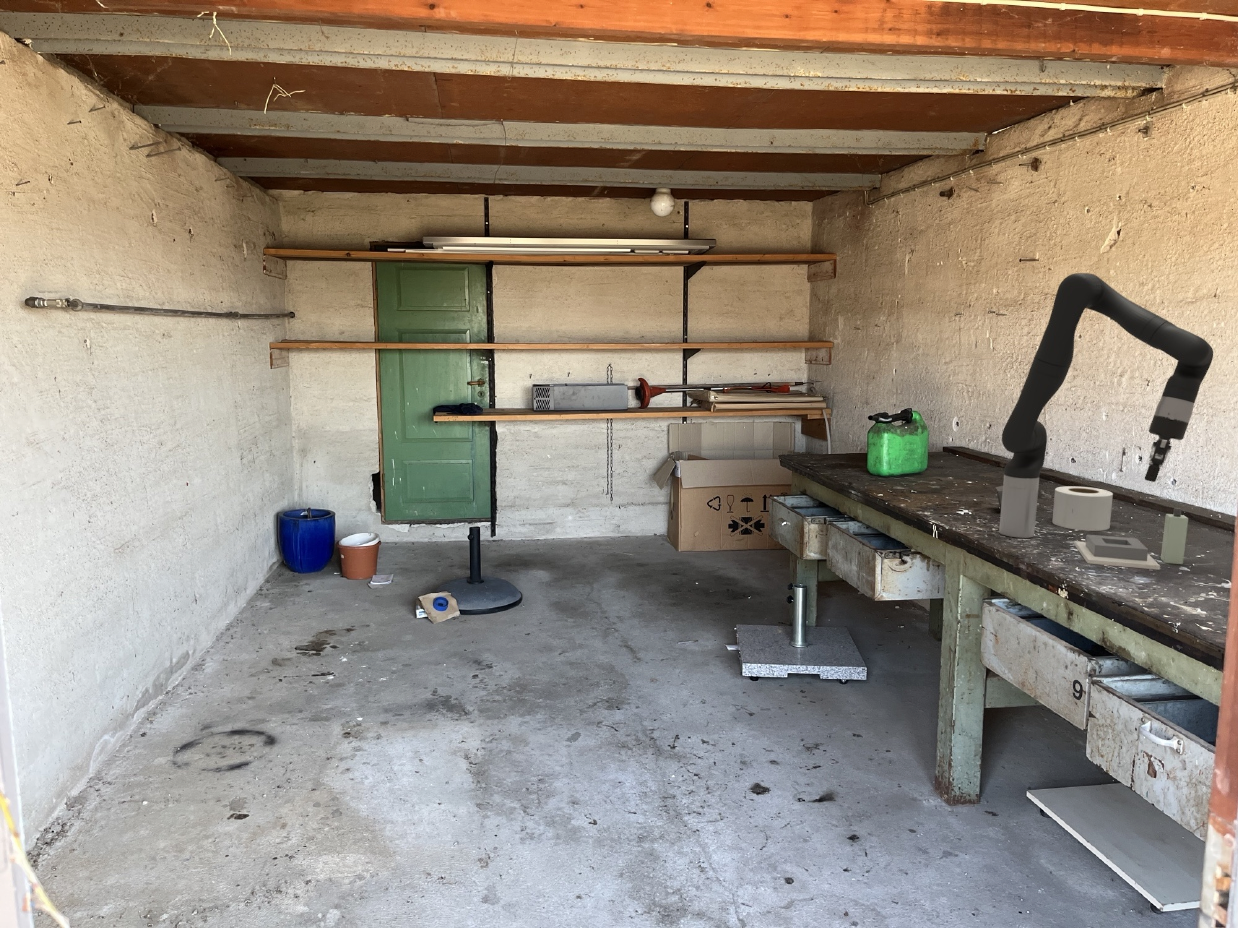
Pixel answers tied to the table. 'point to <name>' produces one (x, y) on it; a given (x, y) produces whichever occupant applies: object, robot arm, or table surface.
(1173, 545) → the plug
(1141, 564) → the plate
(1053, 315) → the robot arm
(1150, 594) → the table surface
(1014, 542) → the table surface
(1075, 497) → the roll of tape
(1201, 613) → the table surface
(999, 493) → the electrical switch
